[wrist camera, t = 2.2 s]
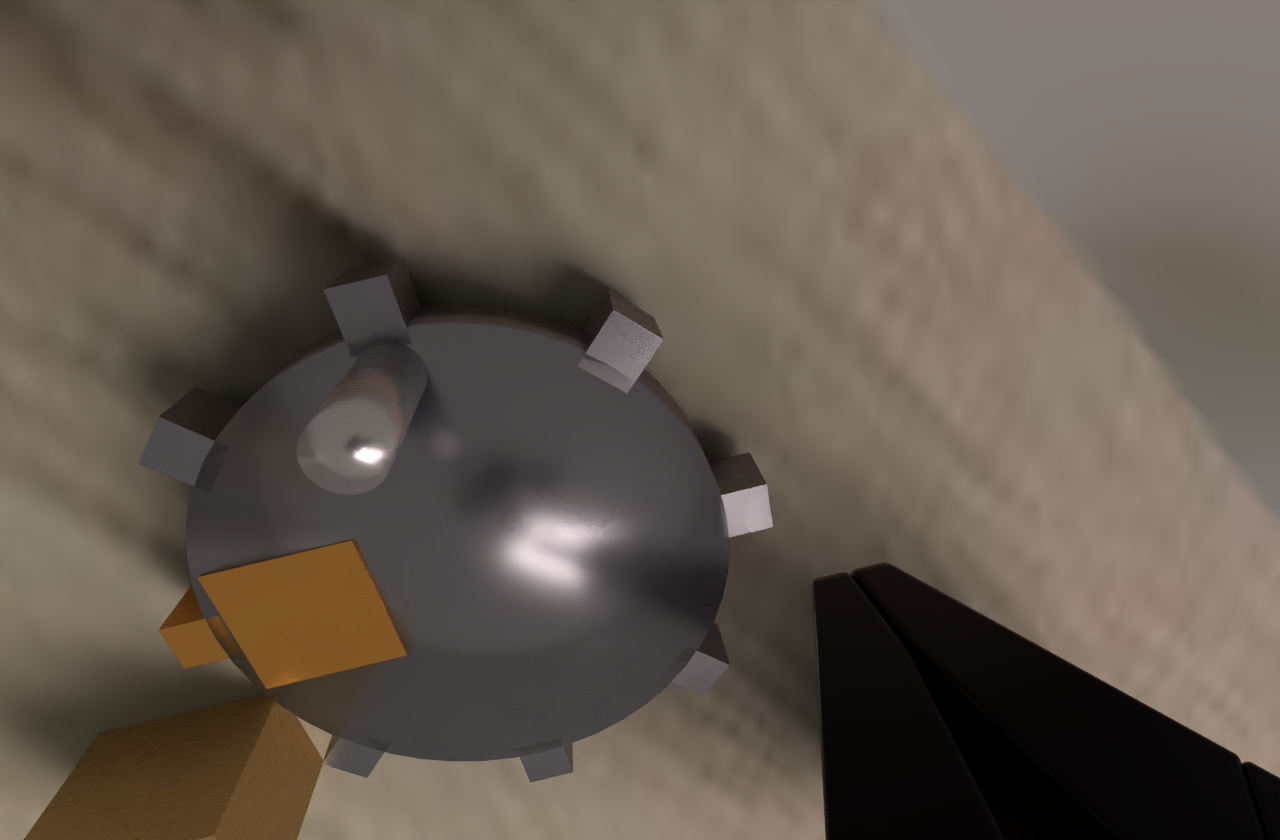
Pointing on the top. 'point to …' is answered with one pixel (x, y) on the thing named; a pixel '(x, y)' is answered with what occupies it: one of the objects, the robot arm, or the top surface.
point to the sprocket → (456, 529)
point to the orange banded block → (191, 779)
